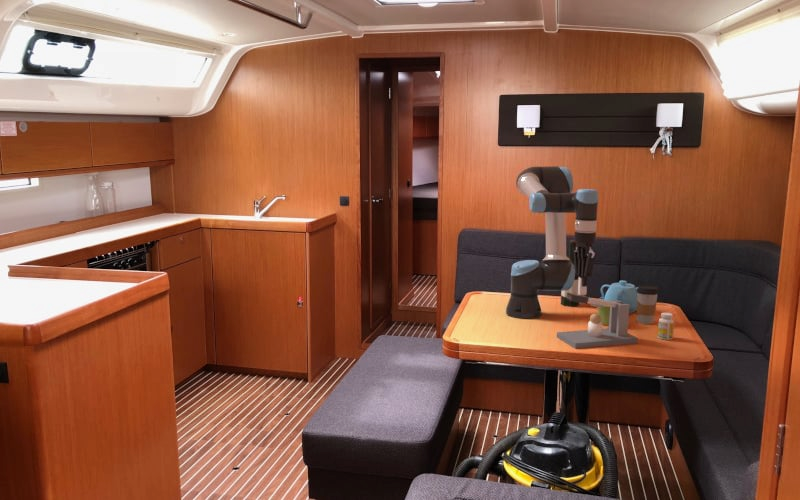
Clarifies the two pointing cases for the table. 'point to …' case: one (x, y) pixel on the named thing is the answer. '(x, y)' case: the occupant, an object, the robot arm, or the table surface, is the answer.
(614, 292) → the decorative pot
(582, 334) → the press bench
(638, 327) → the table surface
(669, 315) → the supplement bottle
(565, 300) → the wine bottle
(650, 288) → the coffee cup
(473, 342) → the table surface
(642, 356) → the table surface
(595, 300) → the press lever
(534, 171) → the robot arm
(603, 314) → the plant pot
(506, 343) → the table surface
